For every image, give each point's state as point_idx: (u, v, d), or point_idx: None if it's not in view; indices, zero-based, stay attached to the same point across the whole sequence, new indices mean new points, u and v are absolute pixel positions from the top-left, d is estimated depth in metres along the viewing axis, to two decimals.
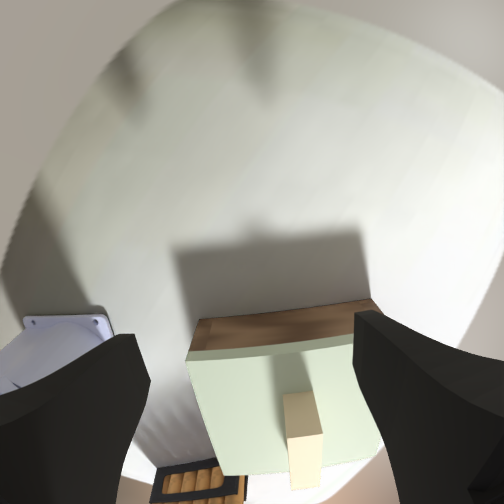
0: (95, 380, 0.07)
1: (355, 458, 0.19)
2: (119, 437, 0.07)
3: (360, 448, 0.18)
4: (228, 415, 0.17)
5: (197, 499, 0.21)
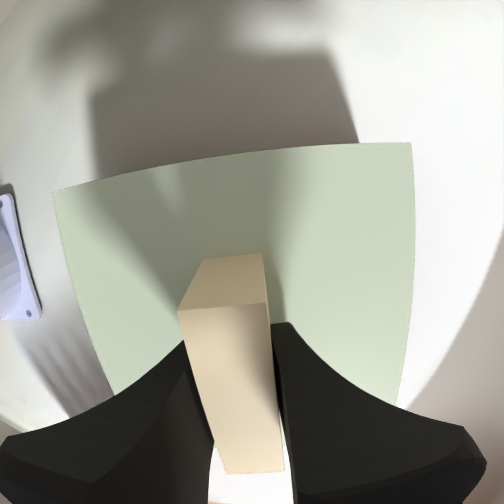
0: (190, 382, 0.07)
1: None
2: (206, 443, 0.07)
3: None
4: (117, 309, 0.10)
5: None
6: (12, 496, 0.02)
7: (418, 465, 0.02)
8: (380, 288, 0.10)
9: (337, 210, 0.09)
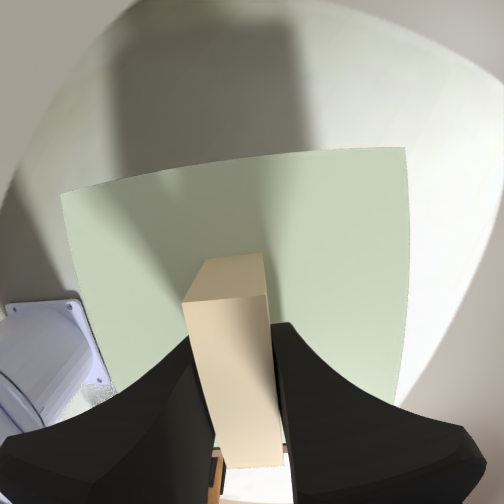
0: (190, 382, 0.07)
1: None
2: (206, 443, 0.07)
3: None
4: (122, 308, 0.10)
5: None
6: (12, 496, 0.02)
7: (418, 465, 0.02)
8: (376, 287, 0.10)
9: (334, 212, 0.09)
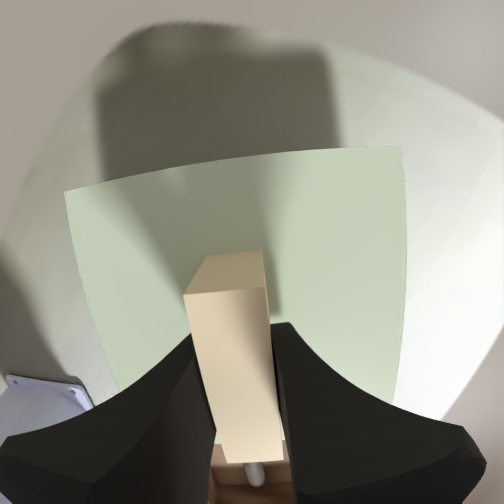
0: (190, 382, 0.07)
1: None
2: (206, 442, 0.07)
3: None
4: (124, 304, 0.11)
5: None
6: (12, 496, 0.02)
7: (418, 466, 0.02)
8: (374, 284, 0.10)
9: (332, 209, 0.10)
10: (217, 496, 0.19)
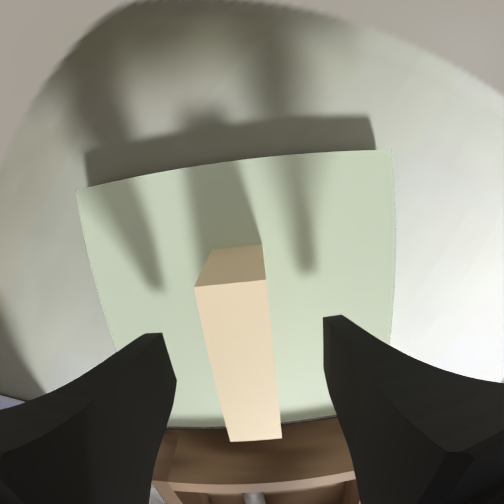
0: (128, 382, 0.07)
1: None
2: (150, 440, 0.07)
3: None
4: (134, 295, 0.11)
5: None
6: None
7: None
8: (365, 276, 0.11)
9: (326, 208, 0.11)
10: None
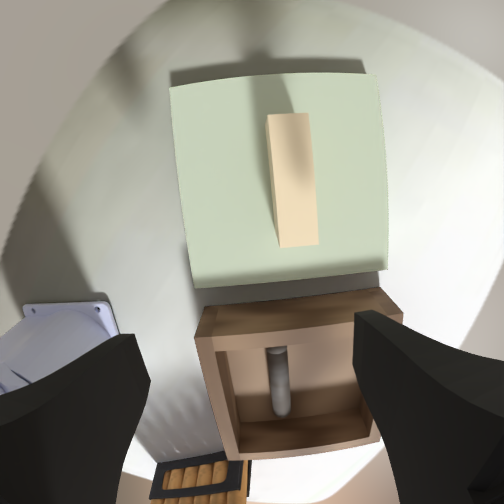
0: (95, 380, 0.07)
1: (362, 266, 0.18)
2: (119, 437, 0.07)
3: (366, 245, 0.18)
4: (205, 158, 0.16)
5: (198, 495, 0.20)
6: None
7: None
8: (365, 150, 0.16)
9: (337, 104, 0.15)
10: (239, 433, 0.21)
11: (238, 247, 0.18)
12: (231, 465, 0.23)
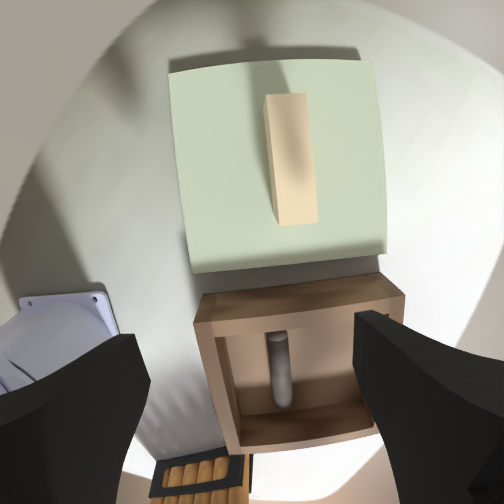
0: (95, 380, 0.07)
1: (361, 249, 0.18)
2: (119, 437, 0.07)
3: (365, 228, 0.17)
4: (203, 141, 0.16)
5: (199, 492, 0.20)
6: None
7: None
8: (362, 134, 0.16)
9: (333, 89, 0.15)
10: (240, 426, 0.21)
11: (236, 230, 0.17)
12: (232, 461, 0.22)
